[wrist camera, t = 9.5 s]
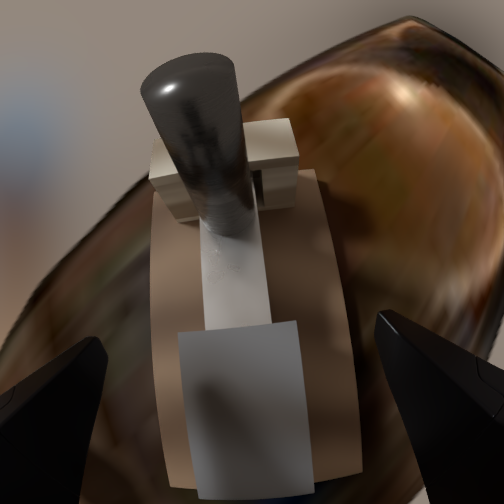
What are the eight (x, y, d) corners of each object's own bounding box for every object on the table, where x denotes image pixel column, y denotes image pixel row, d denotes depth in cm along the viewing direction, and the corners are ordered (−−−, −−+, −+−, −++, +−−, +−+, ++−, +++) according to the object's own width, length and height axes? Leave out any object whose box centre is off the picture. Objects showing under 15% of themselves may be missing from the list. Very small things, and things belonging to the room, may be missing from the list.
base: (357, 465, 13) (392, 507, 7) (176, 480, 14) (136, 521, 8) (312, 178, 21) (321, 116, 15) (159, 200, 21) (124, 147, 15)
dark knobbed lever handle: (282, 416, 13) (296, 533, 3) (227, 420, 13) (133, 524, 3) (252, 176, 19) (230, 19, 8) (208, 182, 19) (157, 35, 8)
